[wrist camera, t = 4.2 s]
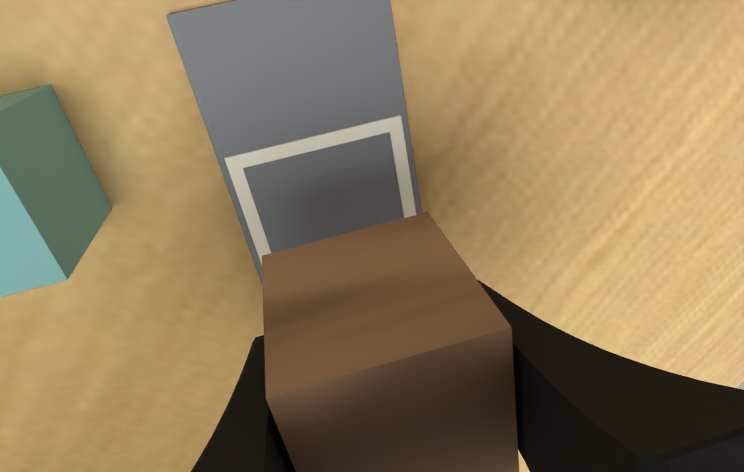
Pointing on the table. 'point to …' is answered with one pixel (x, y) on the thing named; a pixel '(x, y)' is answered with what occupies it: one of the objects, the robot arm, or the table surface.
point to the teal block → (43, 193)
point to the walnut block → (387, 355)
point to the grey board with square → (302, 115)
